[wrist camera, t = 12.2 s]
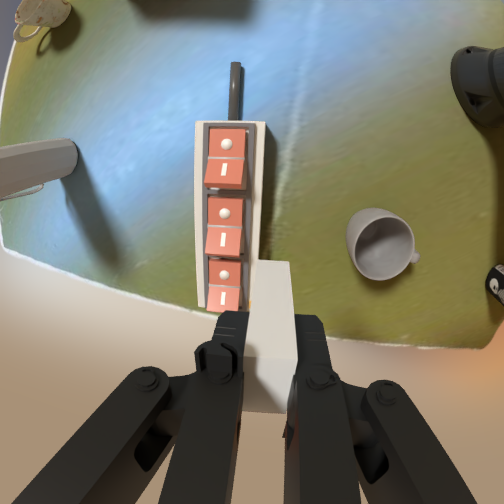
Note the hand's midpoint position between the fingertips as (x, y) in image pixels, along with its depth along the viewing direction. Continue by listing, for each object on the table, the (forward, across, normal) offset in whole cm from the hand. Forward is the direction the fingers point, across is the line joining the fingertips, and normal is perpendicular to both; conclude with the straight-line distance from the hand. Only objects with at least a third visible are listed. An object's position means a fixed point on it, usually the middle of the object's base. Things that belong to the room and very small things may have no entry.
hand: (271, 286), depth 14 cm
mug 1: (+29, -44, +36) cm, 64 cm away
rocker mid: (+23, -6, -4) cm, 24 cm away
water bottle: (+29, -37, +5) cm, 47 cm away
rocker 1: (+23, -6, +4) cm, 24 cm away
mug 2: (+29, +16, -5) cm, 33 cm away
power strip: (+28, -6, 0) cm, 29 cm away
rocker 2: (+23, -6, -13) cm, 27 cm away
